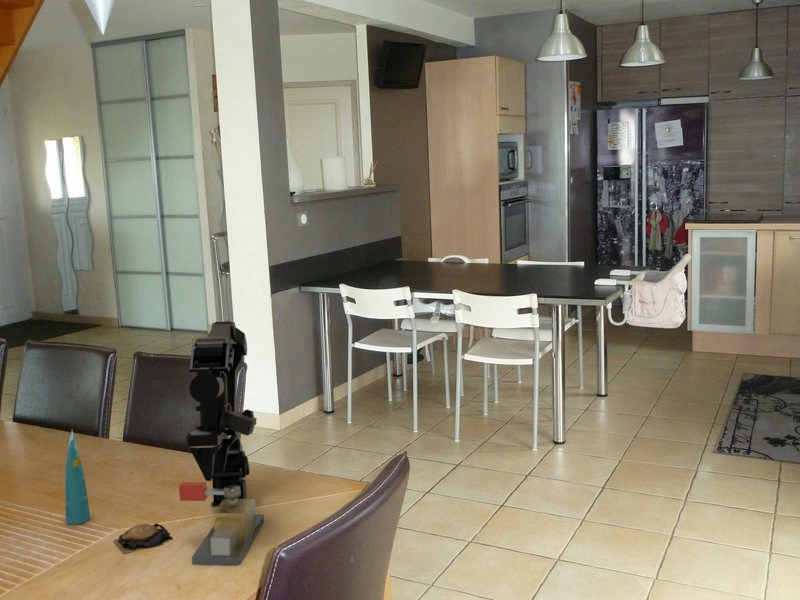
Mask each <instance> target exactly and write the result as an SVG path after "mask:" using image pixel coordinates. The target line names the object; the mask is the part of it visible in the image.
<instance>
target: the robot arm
mask: <svg viewBox="0 0 800 600" xmlns="http://www.w3.org/2000/svg"><path fill="white" fill-rule="evenodd" d="M236 326H237V325H236V323H235V321H230V320H229V321H228V320H227V321H215V322H212V323H211V330H210V331H209V333H208V334H207V336H203V337H202V336H201V337H198V338H196V340H194V344H192V345H191V353H190V362H189V370H188V371H189V373H197V375H195V376H194V377H193V378H192V380H191V382H190V384H189V393H190V396H191V397H192V398H193V399H194V400H195V401H196V402H198V405H195V410H196V412H198V421H199V422H198V423H199V424H198V425H197V426H196V429H195V430H193V431H190V432H189V433H188V434H187V435H186V437H185V447H188V451H190V452H191V455H192V456H193V458H194V459H195V461H196V464H197V466H198V468H199V470H200V472H201V474H202V476H203V478H204V480H205V481H206V482H209V481H210V482H211V481H212V489H224V488H225V487H226V486H230V485H238V486H240V492H241V496H240V497H238V498H237V499H247V498H246V497H247V482H246V481H247V480H246V479H245V478H246V476H249V475H250V463H249V458H248V456H247V455H246V451H244V450H243V445H242V442H241V441H240V440H239V437H238V436H240V434H241V435H243V436H250V435H252V434H253V431H254V429H255V426H256V425H257V417H255V415H254V410H250V409H249V408H248V409H245V410H243V412H237V402H238V401H237V398H238V396H237V395H238V391H237V390H238V375H239V372H240V371H241V370H242V368H243V367H244V365H245V356H247V355H248V343H247V336H246V334H245V332H244V331H242V330H240V329H239V328H237V327H236ZM212 496H213V501H212V502H211V504H210V505H211V506H212V507H218V506H219V505H220V503H221V502H222V500H223V499H227V498H225V497H224V495H212Z"/></svg>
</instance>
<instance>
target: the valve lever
mask: <svg viewBox="0 0 800 600" xmlns="http://www.w3.org/2000/svg"><path fill="white" fill-rule="evenodd" d="M178 486H179V489H178V490H179V501H181V502H182V501H186V502H187V501H189V502H192V501H193V502H205V501H206V500H207V498H208V496H213V495H224V497H225V498H227V499H235V498H238V497H240V496H241V492H240V486H238V485H230V486H226V487H225V488H224V489H213V488H208V487H207V486H208V485H207V481H206V482H205V481H202V482H201V481H182V482H181V483H180V484H179V485H178Z"/></svg>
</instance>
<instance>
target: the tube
mask: <svg viewBox="0 0 800 600" xmlns="http://www.w3.org/2000/svg"><path fill="white" fill-rule="evenodd" d="M67 447H68V448H67V452H66V460H65V461H66V463H65V484H64V485H65V488H64V489H65V490H64V491H65V493H64V494H65V497H64V498H65V522H66V523H67V524H69V525H80V524H83V523H86V522H88V521H89V520H90V519H91V514H90V513H91V511H90V506H89V498H88V491H87V484H86V479H85V474H84V473H85V472H84V467H83V464H82V459H81V456H80V455H81V454H80V452H79V451H80V450H79V448H78V445H77V441H76V438H75V435H74V432H73V429H71V433H70V435H69V440H68V446H67Z"/></svg>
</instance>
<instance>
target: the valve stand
mask: <svg viewBox="0 0 800 600" xmlns="http://www.w3.org/2000/svg"><path fill="white" fill-rule="evenodd" d="M216 507H217V508H216V509H215V510H214V511H213V512H212V513H213V514H212V516H213V518H212V519H213V526H212V527H211V529H210V530H209V532H208V533H207V535H206V536H205V538H204V539H203V540H202V542H201V543H200V544H199V546H198V547H197V548H196V551H195V552H194V553H193V554H192V556H191V565H200V566H201V565H204V566H207V565H210V566H211V565H212V566H239V565H240V564H241V562H242V560H243V558H244V557H245V555H246V553H247V551H248V550H249V548H250V546H251V545H252V543H253V540H255V538H256V535H258V532H259V530H260V528H261V527H262V525H263V523H264V522H265V516H264V515H265V513H256V501H255V498H245V499H237V498H235V499H223V500H222V502H221V503H220V505H219V506H216Z"/></svg>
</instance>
